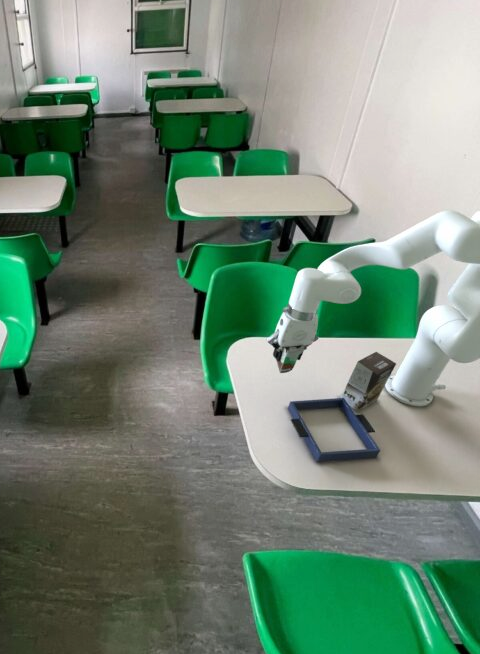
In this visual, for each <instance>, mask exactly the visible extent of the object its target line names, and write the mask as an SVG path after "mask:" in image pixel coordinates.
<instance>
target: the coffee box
mask: <svg viewBox="0 0 480 654" xmlns="http://www.w3.org/2000/svg"><path fill="white" fill-rule="evenodd" d="M396 366H397V363H396V362H394V361H393V360H392V359H390V358H388V357H386V356H385V355H382V354H381V353H380V352H378V351H375V352H373V353H370V354H369V355H367V356H365V357H364V358H361V359H359V360H358V361H357V362H356V364H355V366H354V368H353V370H352V373H351V375H350V377H349V379H348V381H347V383H346V386H345V387H344V390H343V393H342V394H341V395H340V398H344V399H345V400H346V402H347V403H348V405H349V406H350V407H351V409H353V410H355V411H356V412H360V411H361V410H364V409H365V408H367V407H368V406H370V405H372V404H374V403H375V402H377V401H378V400H379V398H380V395H381V393H382V392H383V390H384V388H385V384H386V382H387V380H388V379H389V377H390V376H392V373H393V371H394V369H395V367H396Z"/></svg>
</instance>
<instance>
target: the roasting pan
mask: <svg viewBox="0 0 480 654" xmlns="http://www.w3.org/2000/svg"><path fill="white" fill-rule="evenodd" d="M338 408H339V410H340V411H341V412H342V414H343V415H344V417H345V418H346V420H347V422H348V423H349V425H350V426H351V428H352V429H353V430H354V432H355V433H356V435H357V436H358V438H359V440H360V441H361V442H362V444H363V445H364V447H365V448H364V449H361V448H360V449H348V450H347V449H346V450H333V451H321V449H320V447H319V445H318V444H317V442H316V440H315V438H314V437H313V435H312V433H311V431H310V429H309V428H308V426H307V424H306V422H305V421H304V419H303V416H302V415H301V413H300V412H299V411H309V410H310V411H311V410H324V409H338ZM287 411H288V412H289V414H290V417H291V419H290V422H291V425H293V428H294V429H295V431H296V433H297V435H298V437H299V438H302V439H303V441H304V442H305V444H306V446H307V448H308V449H309V452H310V453H311V455H312V458H313V459H314V460H315V462H316V463H328V462H343V461H358V460H370V459H371V460H372V459H377V458H378V456H379V454H380V452H381V451H382V450H381V449H380V448H379V446H378V444H377V443H376V441H374V439H373V438H372V435H370V434H371V433H375V432H376V430H375V428H374V427H373V425H371V423H370V421H369V420H368V419H367V418H366V415H364V414H363V413H361V414H356V413H355V412H354V409H353V408H352V407H351V406H350V405H348V403H347V402H346V400H345V399H344V398H341V397H337V398H334V397H333V398H320V399H307V400H306V399H305V400H292V401H291V400H290V401H289V403H288V405H287Z"/></svg>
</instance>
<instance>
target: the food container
mask: <svg viewBox="0 0 480 654" xmlns="http://www.w3.org/2000/svg"><path fill="white" fill-rule="evenodd" d="M277 339H278V338H277ZM277 339H276V340H277ZM276 340H275V341H276ZM303 350H304V346H303V345H302V346H288V347H283V349H282V356H281V359H280V361H277V360H276V359H275V361H276V365H277V368H278V371H279V374H287V373H289V372H291V371H292V370H293V369H294V368H295V365H296V363H297V361H298V360H297V358H298V356H299V354H301V353H302V352H303V353H304V351H305V350H304V351H303Z"/></svg>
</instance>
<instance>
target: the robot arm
mask: <svg viewBox="0 0 480 654" xmlns="http://www.w3.org/2000/svg"><path fill="white" fill-rule="evenodd" d="M441 252H443V253H444V254H445V255H446V256H448V257H449V258H450V259H452V260H454V261H456V262H461V263H465V264H468V265H467V266H466V267H465V268H464V270H463V271H462V272H461V274H460V275H459V277H458V278H457V279H456V280H455V282H454V283H453V284H452V286H451V288H450V289H449V291H448V293H447V299H448V301H449V302H450V304H451V305H452V306H451V305H444V304H441V305H435V306H433V307H430V308H429V309H428V310H426V311H425V312H424V313H423V315H422V316H421V318H420V321H419V324H418V328H417V332H416V335H415V337H414V340H413V342H412V344H411V346H410V348H409V349H408V351H407V353H406V355H405V357H404V358H403V361H402V362H401V365H400V366H399V368H398V370H397V371H396V374H393V375H392V374H391V375H390V377H389V379H388V380H387V382H386V384H385V386H384V388H385V389H386V391H387V392H388V393H389V395H390V396H392V397H393V398H394V399H395V400H397V401H399V402H400V403H403V404H406V405H408V406H413V407H426V406H428V405H429V404H431V403H432V401H433V400H434V395H433V392H434V391H436V390H445V389H446V384H445V383H443V382H440V383H437V381H438V379H439V378H440V377H441V374H442V373H443V372H444V370H445V368H446V367H447V365H448V364H449V362H450V361H453V362H455V363H459V364H470V363H473V362H476V361H477V360H479V359H480V210H479V211H476V212H475V213H474V214H472V216H471V218H470V217H468V216H467V215H465V214H463V213H461V212H459V211H456V210H451V209H450V210H442V211H440V212H437V213H435V214H433V215H431V216H429V217H428V218H426V219H424V220H422V221H420V222H418V223H416V224H415V225H413V226H411V227H410V228H408V229H406V230H403V231H402V232H400V233H398V234H396V235H394V236H393V237H390V238H389V239H387V240H384V241H378V242H368V243H364V244H357V245H353V246H350V247H347V248H345V249H343V250H341V251H339V252H337V253H335V254H333V255H332V256H330V257H328V258H327V259H325V260H324V261H323V262H321V263H320V265H319V266H318V267H317V268H313V267H304V268H302V269H300V270H299V271H298V272H297V274H296V276H295V280H294V283H293V287H292V290H291V292H290V293H291V294H290V297H289V300H288V303H287V305H286V307H282V313H281V315H280V318H279V320H278V322H277V324H276V328H275V330H274V332H273V333H272V334H271V335H270V336H268V337H267V338H266V341H267V343H268V344H269V345H271V346H272V348H274V349H273V353H272V356H273V358H274V359H275V361H276V360H277V361H280V359H281V356H282V349H283V347H288V346H302V345H303V346H304V350H303V352H302V353H301V354H299V356H298V358H297V361H301V359H302V356H303V354H304V351H306V350H307V349H308V347H309V346H311V345H312V344H313V343H314V342H317V341H318V340H319V336H318V335H317V330H318V324H319V323H318V322H319V315H318V314H317V313H318V310H319V307H320V304H321V301H324V302H330V303H334V304H339V305H341V304H342V305H343V304H344V305H345V304H351V303H353V302H356V301H357V300H358V299H359V298H360V297H361V294H362V288H361V286H360V283H359V281H357V279H356V278H355V277H354V275H353V274H352V273H351V272H352V271H354V270H356V269H358V268H361V267H365V266H383V267H387V268H391V269H397V270H408V269H409V268H411V267H413V266H415V265H417V264H419V263H421V262H424V261H425V260H428V259H429V258H431V257H434V256H435V255H437V254H439V253H441ZM277 338H278V339H277ZM276 339H277V340H276ZM277 361H276V362H277Z"/></svg>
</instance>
